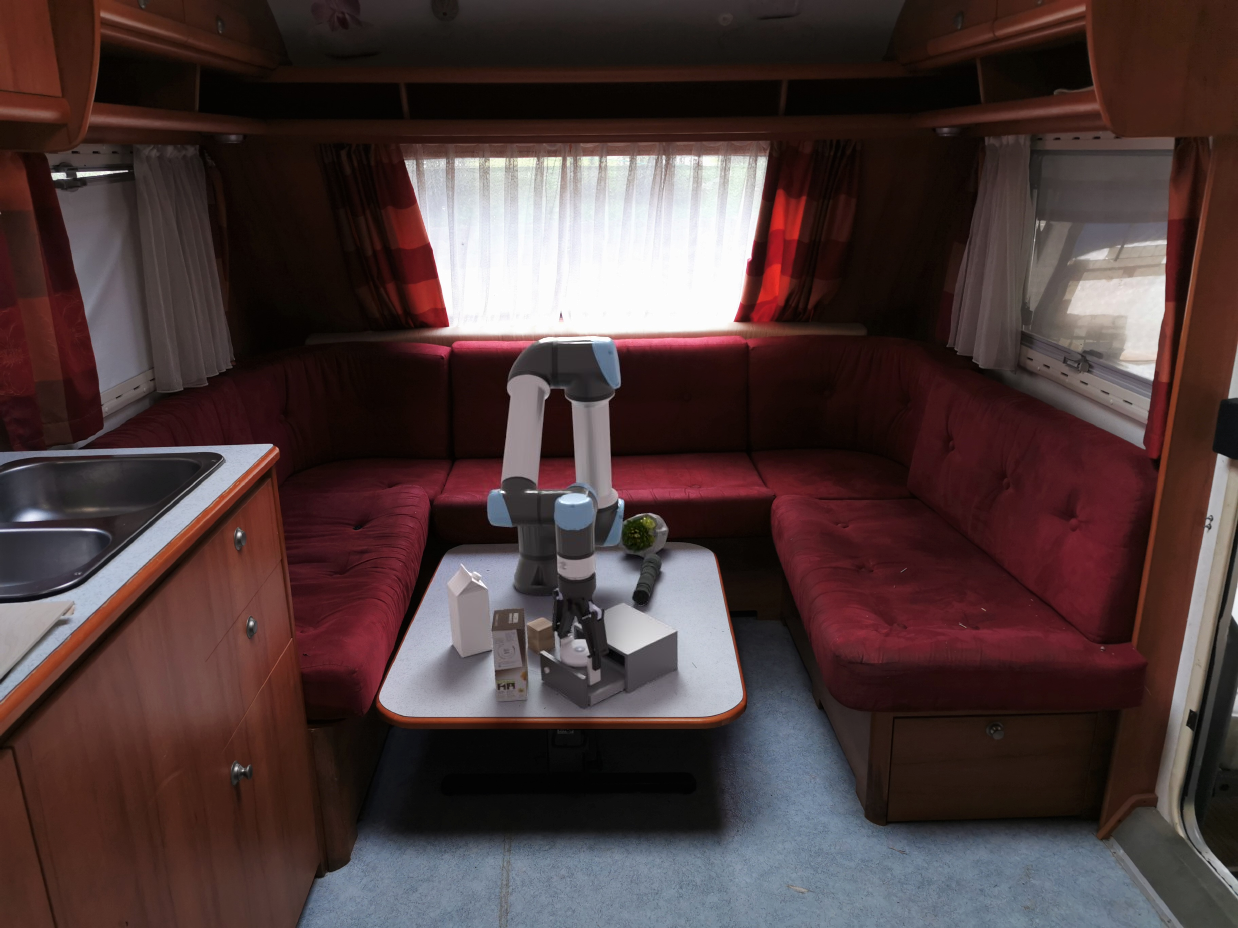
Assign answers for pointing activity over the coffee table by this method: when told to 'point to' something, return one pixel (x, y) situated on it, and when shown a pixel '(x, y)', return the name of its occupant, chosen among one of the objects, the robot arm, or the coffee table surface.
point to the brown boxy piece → (540, 636)
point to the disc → (574, 653)
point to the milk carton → (469, 613)
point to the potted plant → (643, 534)
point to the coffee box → (510, 654)
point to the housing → (638, 645)
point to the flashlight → (647, 578)
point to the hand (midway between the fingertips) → (580, 673)
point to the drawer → (582, 679)
